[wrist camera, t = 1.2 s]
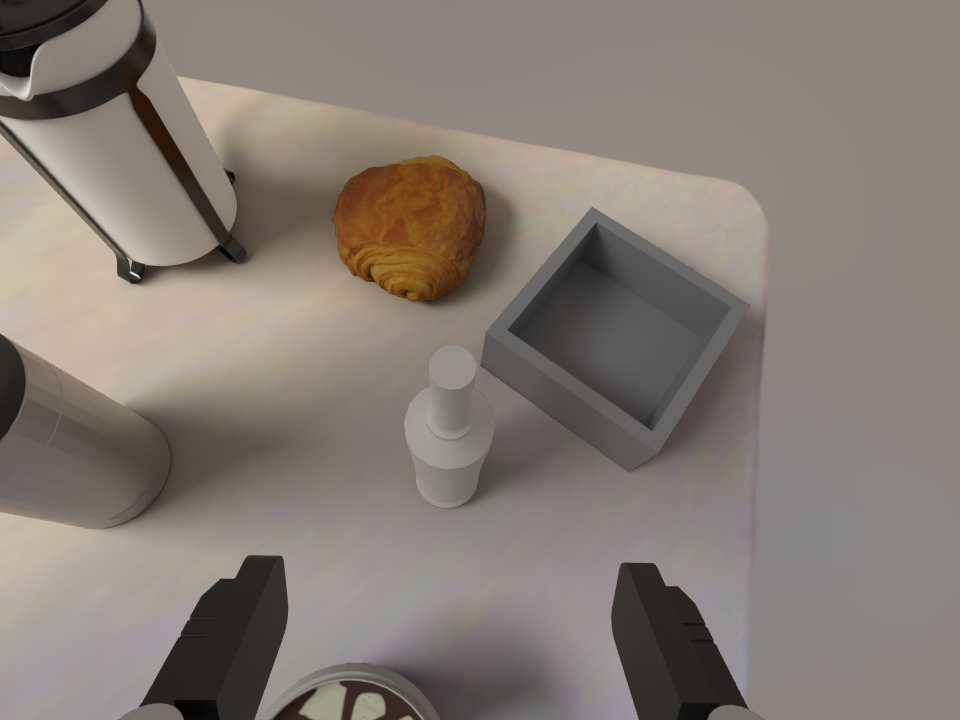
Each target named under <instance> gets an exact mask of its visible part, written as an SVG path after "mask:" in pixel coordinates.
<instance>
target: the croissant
mask: <svg viewBox="0 0 960 720" xmlns="http://www.w3.org/2000/svg"><path fill="white" fill-rule="evenodd" d="M485 218H486V217H485V197H484V192H483V189H482V187H481V185H480V183H478V182H476V181H474V180H472V178H471V176H470V175H469V174H468V173H467V172H465V171H463V170H461V169H460V168H459V167H458V166H456V165H455V164H454V163H452V162H451V161H449V160H447V159H445V158H442V157H439V156H433V155H432V156H429V157H417V158H414V159H410V160H405V161H403V162H401V163H398V164H390V165H387V166H383V167H372V168H368V169H367V170H365V171H363V172H362V173H360V174H358V175H356V176H354V177H352V178H350V179H349V181H348V182H347V183H346V185H345V186H344V190H343V191H342V193H341V194H340V196H339V198H338V200H337V206H336V210H335V216H334V218H333V220H332V221H333V223H334V225H335V227H336V229H335V234H336V236H337V238H338V250H339V254H340V257H341V259H342V261H343V262H344V264H345V265H347V267H348V268H349V269H350V271H351V273H352V274H353V275H354V276H360V277H361V278H362V279H364V280H365V281H370V282H375V281H376V283H377V284H378V285H379V286H380V287H381V288H383V289H384V290H386V291H388V292H389V293H390V294H393V295H397V296H398V297H403V298H409V299H410V300H411V301H422V300H434V299H436V298H438V297H440V296H442V295H444V294H446V293H447V292H449V291H450V290H452V289H453V288H455V287H456V286H457V285H458V284H460V283H461V282H462V280H463V279H464V278H465V276H466V275H467V273H468V271H469V269H470V266H471V264H472V262H473V260H474V255H475V252H476V248H477V246H479V245H480V243H481V241H482V238H483V234H484V227H485Z"/></svg>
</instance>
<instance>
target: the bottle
mask: <svg viewBox="0 0 960 720" xmlns="http://www.w3.org/2000/svg"><path fill="white" fill-rule="evenodd" d="M428 367H429V383H430V386H429V387H427V388H425V389H423V390H421V391H420V392H419V393H418V395H417V396H416V397H415V398H414V399H413V400H412V401H411V403H410V404H409V407H408V410H407V413H406V416H405V419H404V427H405V438H406V441H407V444H408V447H409V451H410V454H411V457H412V460H413V463H414V466H415V470H416V484H417V487H418V489H419V491H420V493H421V495H422V497H423V498H424V499H425V500H426V501H427V502H429V503H430V504H431V505H432V506H435V507H439V508H442V509H450V508H457V507H459V506H460V505H462V504H464V503H466V502H467V501H468V500H469V499H470V498H471V496H472V495H473V494H474V492H475V491H476V488H477V484H478V480H479V472H480V470H481V467H482V465H483V463H484V460H485V458H486V455H487V453H488V451H489V448H490V446H491V443H492V439H493V435H494V431H495V428H496V427H495V421H494V414H493V410H492V408H491V406H490V405H489V403H488V401H487V400H486V398H485V396H484V395H482V394H481V393H480V392H478V391H477V390H476V389H474V388H473V387H474V383H475V376H476V370H477V368H476V361H475V359H474V357H473V356H472V354H471V353H470V352H469V351H468V350H466V349H465V348H464V347H460V346H456V345H450V346H444V347H442V348H440V349H438V350H437V351H436V352H435V353H434V354H433V355H432V356H431V359H430V362H429V365H428Z"/></svg>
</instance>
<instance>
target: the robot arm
mask: <svg viewBox="0 0 960 720" xmlns="http://www.w3.org/2000/svg"><path fill="white" fill-rule="evenodd" d="M170 460H171V459H170V450H169V446H168V443H167V441H166V438H165V437H164V435H163V434H162V432H161V431H160V430H159V429H158V428H157V427H156V426H155V425H153V424H152V423H151V422H149V421H148V420H146V419H144V418H142V417H141V416H139V415H137V414H136V413H134V412H132V411H131V410H129V409H127V408H126V407H124V406H122V405H121V404H119V403H117V402H116V401H114V400H112V399H111V398H109V397H107V396H105V395H104V394H102V393H100V392H99V391H97V390H95V389H94V388H92V387H90V386H88V385H87V384H85V383H83V382H82V381H80V380H78V379H77V378H75V377H73V376H71V375H70V374H68V373H66V372H65V371H63V370H61V369H60V368H58V367H56V366H55V365H53V364H51V363H49V362H48V361H46V360H44V359H43V358H41V357H39V356H38V355H36V354H34V353H32V352H30V351H29V350H27V349H25V348H23V347H22V346H20V345H18V344H17V343H15V342H13V341H12V340H10V339H8V338H6V337H5V336H3V335H1V334H0V512H3V513H8V514H14V515H19V516H24V517H30V518H35V519H41V520H46V521H51V522H56V523H61V524H66V525H72V526H77V527H83V528H91V529H102V528H108V527H113V526H116V525H119V524H121V523H124V522H127V521H128V520H130V519H132V518H134V517H135V516H137V515H139V514H140V513H141V512H142V511H143V510H145V509H146V508H147V507H148V506H149V505H150V504H151V503H152V502H153V501H154V499H155V498H156V497H157V496H158V495H159V493H160V491H161V489H162V488H163V486H164V484H165V482H166V479H167V476H168V473H169V468H170ZM287 618H288V598H287V588H286V578H285V568H284V560H283V557H282V556H265V555H249V556H247V557H246V558H245V560H244V562H243V564H242V566H241V568H240V570H239V572H238V574H237V576H236V578H235V579H220V580H219V581H218V582H217V583H215V584H214V585H213V586H212V587H211V588H210V589H209V590H208V591H207V592H206V593H204V594H203V595H202V596H201V598H200V600H199V602H198V603H197V605H196V607H195V609H194V611H193V612H192V614H191V616H190V620H189V621H187V623H186V625H185V627H184V629H183V630H182V632H181V636H180V638H178V639H177V641H176V643H175V645H174V646H173V648H172V650H171V652H170V654H169V655H168V657H167V659H166V661H165V662H164V664H163V666H162V668H161V670H160V671H159V673H158V675H157V677H156V679H155V680H154V682H153V684H152V686H151V688H150V689H149V691H148V693H147V695H146V696H145V698H144V700H143V702H142V703H141V705H140V706H139V708H137V709H135V710H132V711H131V712H129V713H127V714H125V715H124V716H122V717H121V718H120V719H118V720H254V719H255V716H256V713H257V710H258V707H259V705H260V702H261V699H262V696H263V693H264V690H265V688H266V685H267V682H268V679H269V676H270V673H271V670H272V668H273V665H274V662H275V659H276V656H277V653H278V650H279V648H280V645H281V642H282V639H283V636H284V633H285V629H286V624H287ZM611 622H612V631H613V637H614V640H615V644H616V647H617V650H618V653H619V657H620V660H621V663H622V666H623V670H624V673H625V676H626V679H627V683H628V686H629V689H630V692H631V695H632V699H633V702H634V705H635V708H636V712H637V715H638V718H639V720H765V719H763V718H762V717H761V716H759V715H757V714H756V713H754V712H753V711H751V710H749V708H748V707H747V705H746V703H745V701H744V699H743V697H742V695H741V693H740V691H739V689H738V687H737V685H736V683H735V681H734V679H733V677H732V675H731V674H730V672H729V670H728V668H727V666H726V664H725V662H724V660H723V658H722V656H721V654H720V652H719V650H718V648H717V646H716V644H714V642H713V638H712V636H711V634H710V632H709V630H708V628H707V627H705V622H704V620H703V618H702V616H701V614H700V612H699V610H698V608H697V606H696V604H695V603H694V602H693V601H692V600H691V599H690V598H689V597H688V596H687V595H686V594H685V593H684V592H683V591H682V590H681V589H680V588H679V587H678V586H666V585H665V583H664V581H663V579H662V577H661V575H660V572H659V570H658V568H657V566H656V565H655V564H654V563H622V564H621V566H620V569H619V574H618V580H617V585H616V590H615V596H614V601H613V606H612V614H611Z"/></svg>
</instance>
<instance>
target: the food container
mask: <svg viewBox="0 0 960 720" xmlns="http://www.w3.org/2000/svg"><path fill="white" fill-rule="evenodd" d="M261 720H440V718H439V716H438V714H437V713H436V711H435V709H434V708H433V706H432V704H431V703H430V702H429V700H428V699H427V698H426V697H425V696H424V694H423V693H422V692H421V691H420V690H419V689H418V688H417V687H416V686H414V685H413V684H412V683H411V682H410V681H409V680H407V679H406V678H404V677H402V676H401V675H399V674H397V673H396V672H394V671H391V670H389V669H386V668H384V667H381V666H377V665H372V664H366V663H345V664H340V665H334V666H330V667H327V668H324V669H322V670H319V671H316V672H314V673H312V674H310V675H309V676H307V677H305V678H303V679H301V680H300V681H298V682H297V683H296V684H294V685H293V686H292V687H290V688H289V689H288V690H286V691H285V692H284V693H283V694H282V695H281V696H280V697H279V698H278V699H277V700H276V701H275V702H274V703H273V704H272V706H271V707H270V708H269V710H268V711H267V712H266V713H265V715H264V716H263V717H262V719H261Z"/></svg>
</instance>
